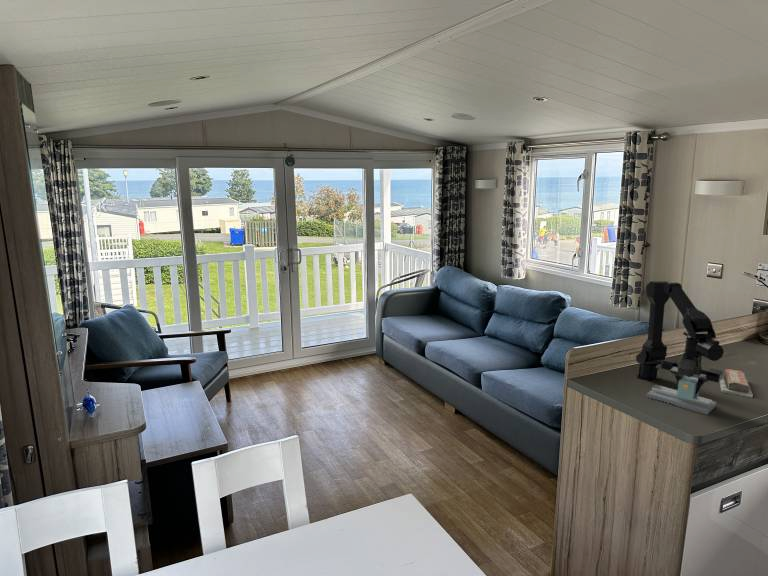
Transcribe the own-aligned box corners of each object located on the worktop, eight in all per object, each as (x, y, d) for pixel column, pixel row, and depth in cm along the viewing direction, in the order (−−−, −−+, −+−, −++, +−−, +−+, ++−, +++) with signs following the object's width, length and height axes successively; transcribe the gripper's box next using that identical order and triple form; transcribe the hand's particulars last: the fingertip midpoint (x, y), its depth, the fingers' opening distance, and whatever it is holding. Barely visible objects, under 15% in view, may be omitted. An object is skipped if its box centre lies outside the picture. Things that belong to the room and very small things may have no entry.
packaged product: (719, 366, 218) (749, 371, 213) (717, 377, 219) (747, 382, 214) (723, 381, 202) (755, 386, 197) (721, 393, 203) (752, 399, 199)
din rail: (651, 391, 200) (652, 387, 199) (655, 388, 202) (655, 384, 202) (708, 407, 186) (709, 403, 186) (712, 404, 189) (712, 400, 189)
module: (675, 396, 191) (678, 381, 190) (683, 390, 197) (685, 375, 195) (691, 401, 188) (693, 385, 187) (698, 394, 193) (700, 379, 192)
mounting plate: (646, 397, 198) (647, 393, 198) (656, 389, 205) (657, 385, 205) (707, 414, 184) (707, 410, 184) (715, 406, 191) (716, 402, 191)
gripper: (657, 349, 190) (652, 390, 193) (717, 363, 177) (710, 407, 180) (668, 342, 197) (663, 382, 201) (726, 355, 184) (720, 397, 188)
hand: (688, 392), depth 192 cm, fingers closed on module, 5 cm apart
